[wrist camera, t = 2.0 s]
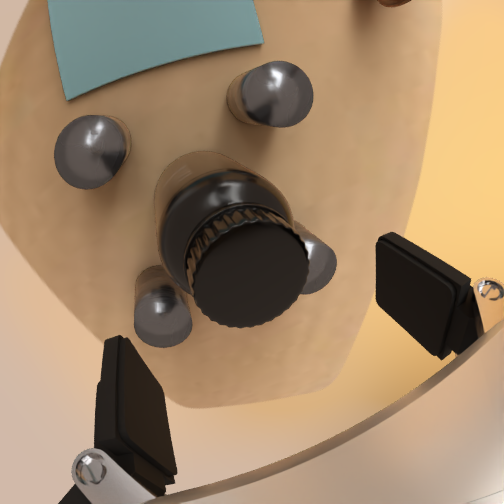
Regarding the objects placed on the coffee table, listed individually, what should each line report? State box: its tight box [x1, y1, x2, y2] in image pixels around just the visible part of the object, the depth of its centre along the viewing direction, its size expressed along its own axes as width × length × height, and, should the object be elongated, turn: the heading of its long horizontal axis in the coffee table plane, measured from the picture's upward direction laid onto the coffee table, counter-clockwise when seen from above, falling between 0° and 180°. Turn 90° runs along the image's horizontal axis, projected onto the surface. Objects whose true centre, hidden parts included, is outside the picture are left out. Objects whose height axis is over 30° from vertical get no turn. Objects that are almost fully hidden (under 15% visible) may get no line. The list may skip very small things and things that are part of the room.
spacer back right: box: [293, 220, 337, 294], centre depth 23 cm, size 4×4×5 cm
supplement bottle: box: [154, 151, 310, 328], centre depth 16 cm, size 7×7×12 cm
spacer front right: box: [227, 61, 313, 127], centre depth 17 cm, size 4×4×5 cm
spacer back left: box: [134, 265, 192, 348], centre depth 21 cm, size 4×4×5 cm
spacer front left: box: [54, 115, 131, 189], centre depth 15 cm, size 4×4×5 cm
